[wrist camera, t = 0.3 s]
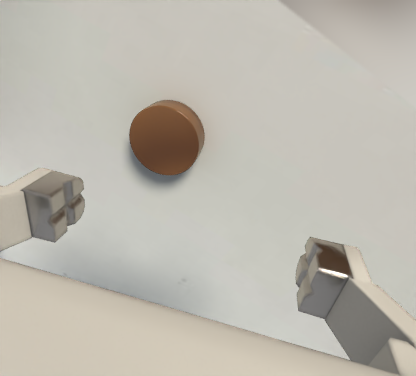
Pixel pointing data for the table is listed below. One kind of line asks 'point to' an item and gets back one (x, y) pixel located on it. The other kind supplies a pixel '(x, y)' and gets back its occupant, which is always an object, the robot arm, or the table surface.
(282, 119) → the table surface
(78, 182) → the robot arm
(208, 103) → the table surface
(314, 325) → the table surface
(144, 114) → the brown lid
